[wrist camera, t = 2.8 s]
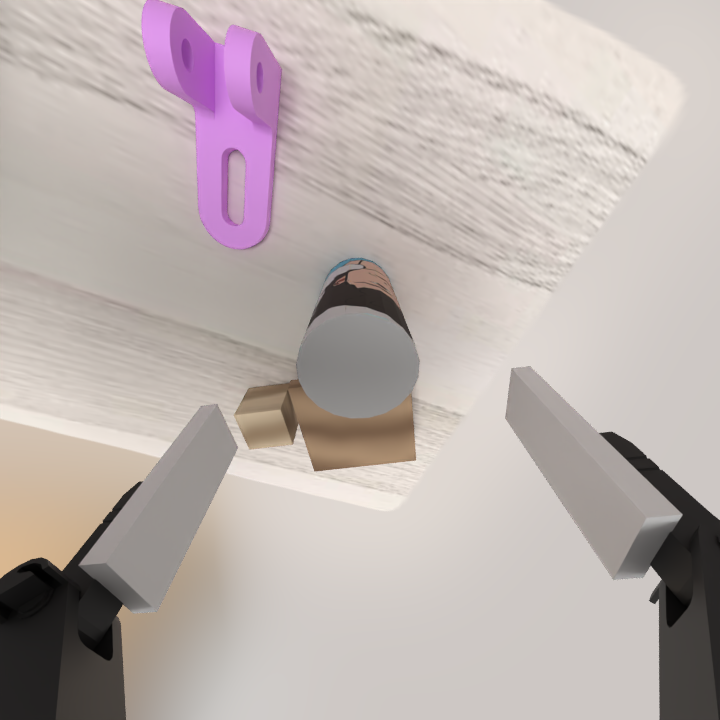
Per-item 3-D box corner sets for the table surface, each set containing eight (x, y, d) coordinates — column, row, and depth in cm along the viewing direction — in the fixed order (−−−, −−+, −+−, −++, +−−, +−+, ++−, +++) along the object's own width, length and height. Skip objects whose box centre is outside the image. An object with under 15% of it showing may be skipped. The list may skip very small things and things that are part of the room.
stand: (296, 363, 33) (287, 388, 28) (402, 349, 32) (409, 373, 28) (319, 440, 39) (314, 471, 34) (409, 430, 38) (416, 460, 34)
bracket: (202, 45, 20) (137, -20, 14) (282, 70, 21) (252, 18, 15) (206, 238, 27) (162, 250, 20) (268, 253, 27) (242, 269, 21)
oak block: (249, 387, 35) (233, 415, 30) (290, 382, 34) (280, 409, 30) (262, 419, 37) (249, 449, 33) (300, 415, 37) (292, 444, 32)
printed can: (384, 327, 31) (405, 423, 18) (321, 320, 30) (294, 413, 17) (396, 262, 28) (433, 321, 14) (326, 253, 27) (297, 304, 14)
